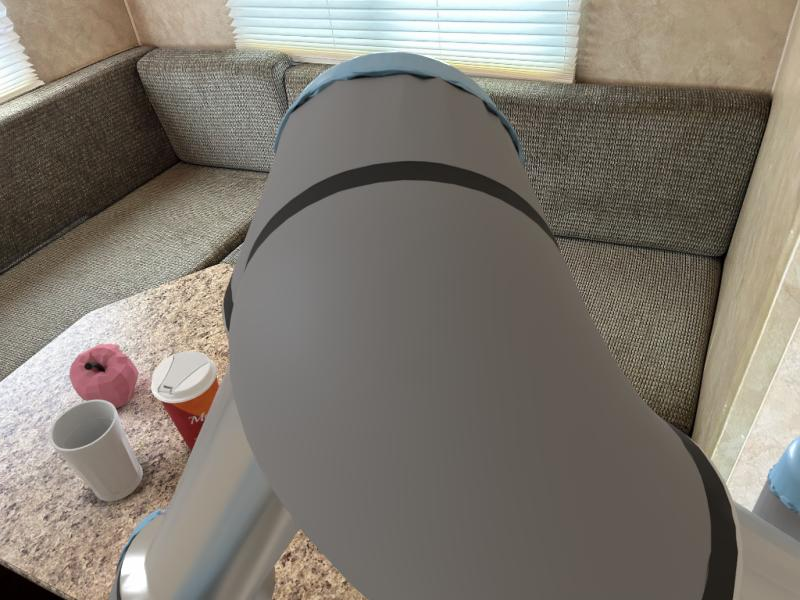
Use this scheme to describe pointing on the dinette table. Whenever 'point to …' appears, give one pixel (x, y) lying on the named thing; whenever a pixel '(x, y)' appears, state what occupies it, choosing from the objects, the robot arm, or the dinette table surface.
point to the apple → (104, 375)
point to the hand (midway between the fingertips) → (427, 466)
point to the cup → (97, 449)
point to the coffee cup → (186, 391)
